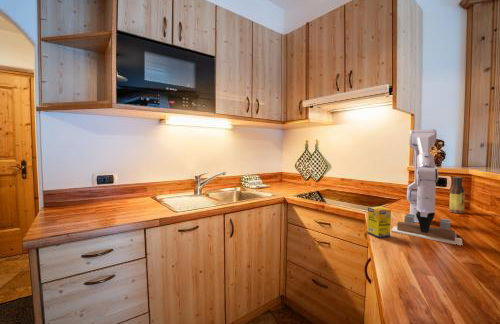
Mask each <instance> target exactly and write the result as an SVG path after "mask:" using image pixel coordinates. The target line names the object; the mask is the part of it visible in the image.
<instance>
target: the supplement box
mask: <svg viewBox="0 0 500 324" xmlns="http://www.w3.org/2000/svg"><path fill="white" fill-rule="evenodd" d="M391 217H392V210H391V209H390V208H387V207H383V206H368V207H367V219H366V220H367V223H366V226H367V227H366V234H369V235H371V236H373V237H375V238H377V239H380V238H381V239H382V238H390V237H391Z"/></svg>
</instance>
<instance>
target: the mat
mask: <svg viewBox="0 0 500 324" xmlns="http://www.w3.org/2000/svg"><path fill="white" fill-rule="evenodd" d="M390 233H396V234H401V235H406V236H412V237H416V238H420V239H426V240H431V241H436V242H442V243H447V244H451V245H456V244H457V246H461V245H462V247H463V239H462V238H460V237H457V238H455V241H452V240H447V239H442V238H436V237H431V236H426V235H421V234H415V233H410V232H405V231H400V230H397V226H395V225H394V226H393V227H392V228H391V229H390Z"/></svg>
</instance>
